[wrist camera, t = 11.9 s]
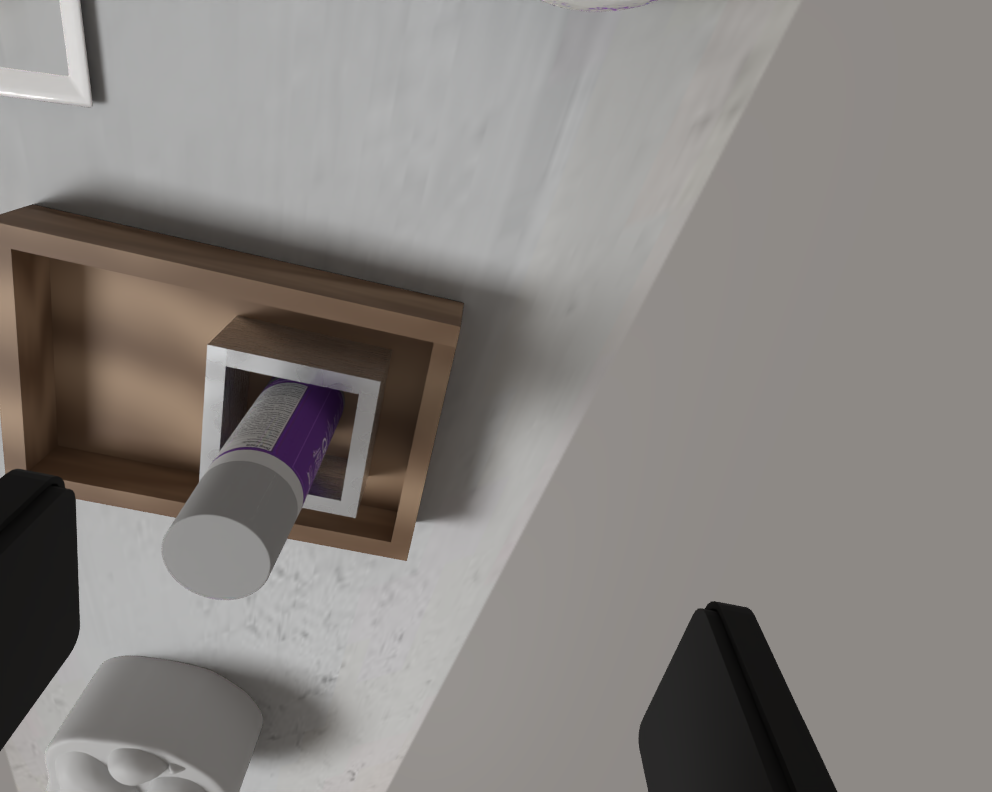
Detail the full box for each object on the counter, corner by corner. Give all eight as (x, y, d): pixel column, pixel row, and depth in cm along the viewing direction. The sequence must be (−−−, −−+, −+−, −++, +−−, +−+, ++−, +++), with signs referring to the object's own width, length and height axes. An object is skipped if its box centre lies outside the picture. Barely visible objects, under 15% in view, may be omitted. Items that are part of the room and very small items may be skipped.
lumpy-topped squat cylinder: (98, 645, 52) (28, 749, 44) (271, 679, 53) (232, 784, 46) (95, 736, 56) (31, 845, 48) (255, 764, 58) (217, 874, 50)
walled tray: (32, 204, 37) (-17, 219, 34) (463, 302, 40) (460, 326, 36) (46, 451, 44) (6, 485, 41) (413, 522, 47) (406, 560, 43)
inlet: (236, 315, 39) (207, 344, 35) (392, 349, 40) (380, 381, 36) (226, 447, 43) (198, 487, 39) (368, 476, 44) (355, 518, 40)
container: (353, 426, 42) (288, 595, 29) (280, 436, 43) (181, 609, 29) (334, 357, 40) (253, 504, 27) (257, 368, 41) (140, 520, 27)
